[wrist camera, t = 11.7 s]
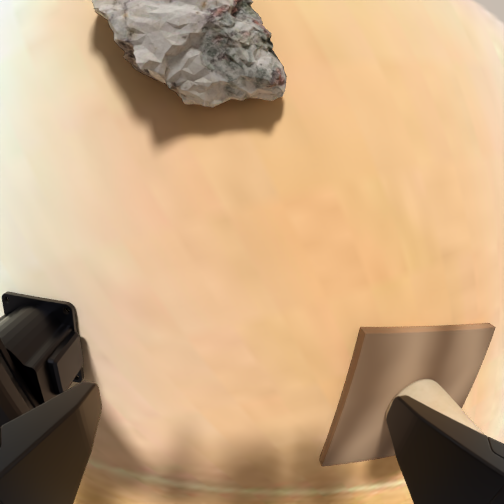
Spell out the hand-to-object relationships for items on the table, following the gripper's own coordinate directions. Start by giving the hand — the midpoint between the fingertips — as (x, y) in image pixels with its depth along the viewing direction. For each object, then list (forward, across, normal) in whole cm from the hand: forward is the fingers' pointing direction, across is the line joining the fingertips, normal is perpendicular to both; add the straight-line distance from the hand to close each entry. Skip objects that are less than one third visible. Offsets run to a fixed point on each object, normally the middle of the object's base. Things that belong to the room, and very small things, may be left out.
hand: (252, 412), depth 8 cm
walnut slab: (+12, -16, +10) cm, 22 cm away
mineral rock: (+12, +5, -16) cm, 21 cm away
